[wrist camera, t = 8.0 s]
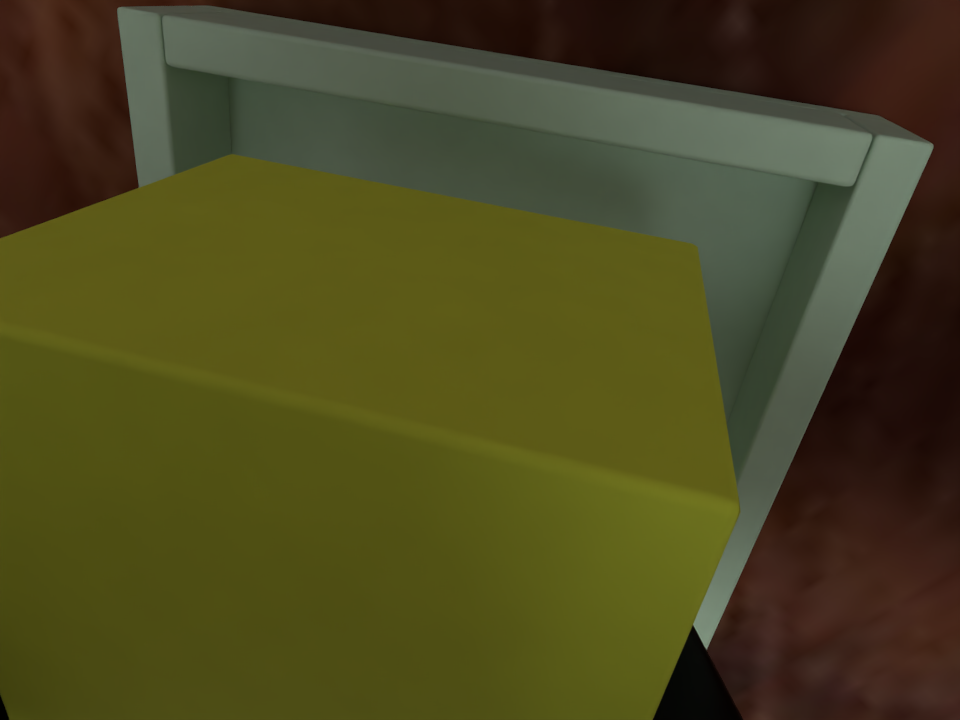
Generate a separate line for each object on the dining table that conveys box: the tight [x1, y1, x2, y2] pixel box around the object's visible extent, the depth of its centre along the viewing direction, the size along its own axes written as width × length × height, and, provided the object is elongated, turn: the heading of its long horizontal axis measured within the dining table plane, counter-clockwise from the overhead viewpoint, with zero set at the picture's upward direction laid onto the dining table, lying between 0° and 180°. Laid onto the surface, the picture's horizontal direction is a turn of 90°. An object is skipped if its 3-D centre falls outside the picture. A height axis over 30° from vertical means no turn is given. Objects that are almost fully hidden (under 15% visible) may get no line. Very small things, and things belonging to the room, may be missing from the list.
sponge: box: [0, 154, 741, 720], centre depth 7 cm, size 5×7×4 cm
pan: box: [117, 5, 933, 650], centre depth 13 cm, size 10×17×2 cm, turn 172°
